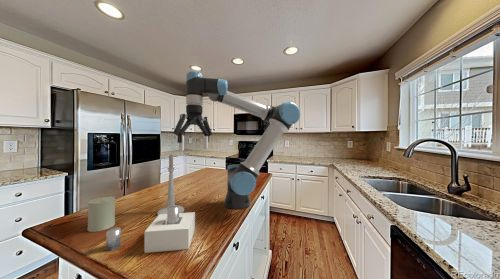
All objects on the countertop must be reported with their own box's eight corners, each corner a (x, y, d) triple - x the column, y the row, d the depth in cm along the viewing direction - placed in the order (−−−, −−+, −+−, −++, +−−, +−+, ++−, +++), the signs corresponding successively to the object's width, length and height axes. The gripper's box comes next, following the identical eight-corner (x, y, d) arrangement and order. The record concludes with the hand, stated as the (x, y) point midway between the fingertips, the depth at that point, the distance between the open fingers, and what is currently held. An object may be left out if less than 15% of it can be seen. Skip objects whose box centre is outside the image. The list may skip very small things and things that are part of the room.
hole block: (194, 228, 75) (194, 212, 75) (188, 249, 61) (188, 228, 61) (159, 231, 73) (159, 214, 73) (144, 252, 59) (144, 231, 59)
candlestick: (183, 215, 88) (184, 154, 88) (155, 218, 84) (155, 155, 84) (184, 206, 100) (184, 153, 100) (159, 209, 96) (159, 153, 96)
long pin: (179, 236, 69) (180, 205, 69) (177, 241, 65) (177, 209, 65) (169, 236, 69) (169, 205, 69) (165, 242, 65) (165, 209, 65)
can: (92, 234, 70) (92, 204, 70) (83, 228, 75) (84, 199, 75) (119, 224, 78) (119, 197, 78) (110, 219, 83) (110, 194, 83)
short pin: (123, 243, 64) (123, 226, 64) (116, 250, 60) (116, 232, 60) (110, 244, 64) (110, 227, 64) (103, 251, 60) (103, 233, 60)
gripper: (209, 109, 98) (209, 148, 98) (164, 101, 78) (164, 150, 78) (218, 108, 93) (218, 148, 93) (174, 99, 73) (174, 151, 73)
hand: (194, 149), depth 85 cm, fingers open, 13 cm apart
